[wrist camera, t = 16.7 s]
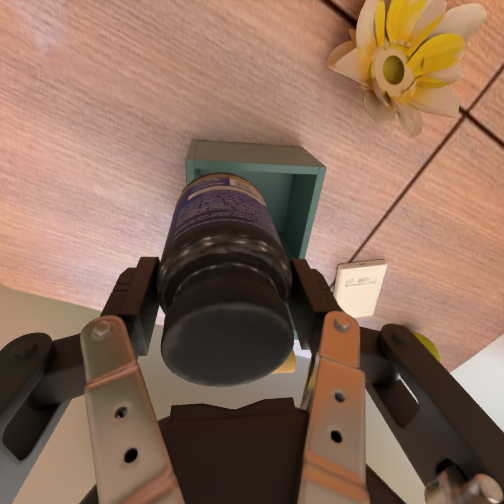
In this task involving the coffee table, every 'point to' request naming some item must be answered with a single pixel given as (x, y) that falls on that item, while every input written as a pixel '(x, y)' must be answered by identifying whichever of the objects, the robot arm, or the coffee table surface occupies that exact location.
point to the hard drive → (359, 286)
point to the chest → (269, 182)
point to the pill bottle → (224, 285)
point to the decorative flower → (408, 57)
